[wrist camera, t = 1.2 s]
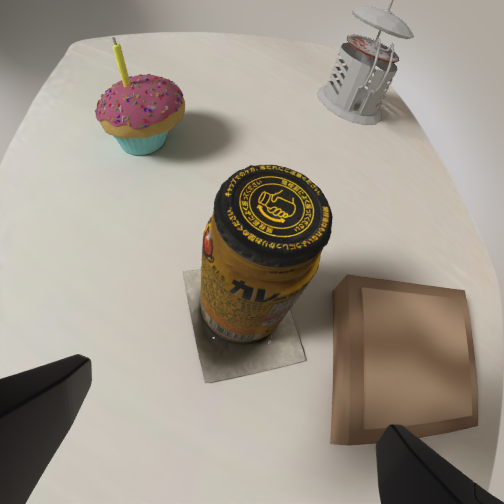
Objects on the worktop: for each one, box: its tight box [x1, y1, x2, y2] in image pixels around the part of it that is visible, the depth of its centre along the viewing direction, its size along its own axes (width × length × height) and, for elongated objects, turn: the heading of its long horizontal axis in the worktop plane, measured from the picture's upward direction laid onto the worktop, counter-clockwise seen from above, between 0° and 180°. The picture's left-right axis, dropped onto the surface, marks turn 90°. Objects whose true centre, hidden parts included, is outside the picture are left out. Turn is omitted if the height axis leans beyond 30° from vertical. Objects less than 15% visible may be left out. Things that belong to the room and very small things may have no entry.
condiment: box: [183, 165, 333, 383], centre depth 18 cm, size 7×8×12 cm
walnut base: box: [330, 275, 478, 445], centre depth 22 cm, size 12×12×3 cm
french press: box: [317, 0, 414, 125], centre depth 30 cm, size 10×12×25 cm
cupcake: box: [95, 37, 185, 155], centre depth 26 cm, size 9×8×12 cm
